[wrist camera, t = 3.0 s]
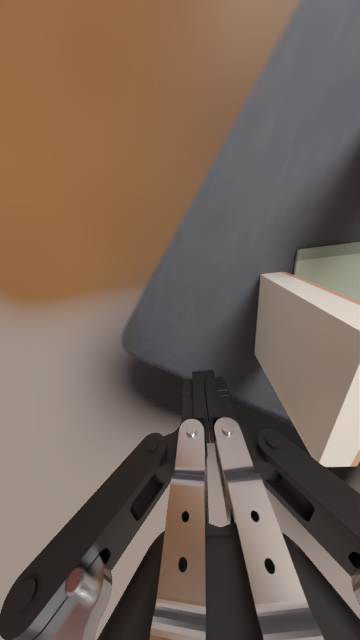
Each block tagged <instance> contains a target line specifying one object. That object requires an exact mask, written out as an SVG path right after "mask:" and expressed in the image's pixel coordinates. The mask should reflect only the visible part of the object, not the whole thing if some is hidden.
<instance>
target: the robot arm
mask: <svg viewBox="0 0 360 640" xmlns="http://www.w3.org/2000/svg"><path fill="white" fill-rule="evenodd" d="M192 376H193V379H190V380H185V382H184V384H183V391H182V392H183V394H182V422H181V424H180V427H179V428H178V429H177V430H176V431H175V432H173V433H171V434H168V435H166V436H164V437H163V436H162V435H161V434H159V433H152V434H150V435H148V436H146V437H145V438H144V439H143V440H142V441H141V443H140V444H139V445H138V446H137V447H136V448H135V449H134V450H133V451H132V453H131V454H130V455H129V456H128V457H127V458H126V459H125V460H124V461H123V462H122V464H121V465H120V466H119V467H118V468H117V469H116V470H115V471H114V472H113V474H111V476H110V477H109V478H108V479H107V480H106V481H105V482H104V483H103V484H102V485H101V487H100V488H99V489H98V490H97V491H96V492H95V493H94V494H93V495H92V496H91V498H90V499H89V500H88V501H87V502H86V503H85V504H84V505H83V507H81V509H80V510H79V511H78V512H77V513H76V514H75V515H74V516H73V518H72V519H71V520H70V521H69V522H68V523H67V524H66V525H65V526H64V527H63V529H62V530H61V531H60V532H59V533H58V534H57V535H56V536H55V537H54V538H53V539H52V541H51V542H50V543H49V544H48V545H47V546H46V547H45V548H44V549H43V550H42V552H41V553H40V554H39V555H38V556H37V557H36V558H35V559H34V561H32V563H31V564H30V565H29V566H28V567H27V568H26V569H25V570H24V571H23V572H22V574H21V575H20V576H19V577H18V579H17V580H16V581H15V583H14V584H13V586H12V588H11V589H10V591H9V593H8V595H7V597H6V599H5V601H4V604H3V607H2V610H1V613H0V635H1V637H2V638H3V639H5V640H94V639H95V634H96V631H97V627H98V625H99V622H100V619H101V617H102V615H103V613H104V611H105V609H106V607H107V605H108V602H109V599H110V595H111V591H112V574H111V570H112V569H113V567H114V566H115V564H116V563H117V561H118V560H119V558H120V557H121V555H122V554H123V552H124V551H125V549H126V548H127V546H128V545H129V543H130V542H131V540H132V539H133V537H134V536H135V534H136V533H137V531H138V530H139V528H140V527H141V525H142V524H143V522H144V521H145V519H146V518H147V516H148V515H149V513H150V512H151V510H152V509H153V507H154V506H155V504H156V503H157V501H158V500H159V498H160V497H161V495H162V494H163V492H164V491H165V489H166V488H167V486H168V485H169V483H170V482H171V484H170V493H169V501H168V509H167V517H166V526H165V531H164V532H162V533H161V534H160V535H159V536H158V537H157V538H156V539H155V540H154V542H153V543H152V545H151V546H150V547H149V549H148V551H147V553H146V555H145V556H144V558H143V560H142V561H141V563H140V565H139V567H138V568H137V570H136V572H135V574H134V576H133V577H132V579H131V581H130V583H129V585H128V586H127V588H126V590H125V591H124V593H123V595H122V597H121V599H120V601H119V602H118V604H117V606H116V607H115V609H114V611H113V613H112V615H111V616H110V618H109V620H108V622H107V623H106V625H105V627H104V629H103V630H102V632H101V634H100V636H99V638H98V639H97V640H360V619H359V618H358V617H357V615H356V614H355V613H354V612H353V610H352V609H351V608H350V607H349V606H348V604H347V603H346V602H345V601H344V600H343V599H342V597H341V596H340V595H339V594H338V593H337V591H336V590H335V589H334V588H333V587H332V585H331V584H330V583H329V582H328V581H327V579H326V578H325V577H324V576H323V575H322V573H321V572H320V571H319V570H318V569H317V567H316V566H315V565H314V564H313V563H312V561H311V560H310V559H309V558H308V557H307V555H306V554H305V553H304V552H303V551H302V550H301V548H300V547H299V546H298V545H297V544H296V543H294V541H292V540H291V539H290V538H289V537H288V536H286V535H285V534H283V533H282V532H281V530H280V527H279V524H278V522H277V519H276V516H275V513H274V511H273V508H272V505H271V503H270V500H269V497H268V494H267V492H266V489H265V487H266V488H267V489H268V490H269V491H270V492H271V493H272V494H273V495H274V496H275V497H276V498H277V499H278V500H279V501H280V502H281V504H282V505H284V507H285V508H286V509H287V510H288V511H289V512H290V513H291V514H292V515H293V516H294V517H295V518H296V519H297V520H298V521H299V522H300V523H301V525H302V526H303V527H304V528H305V529H306V530H307V531H308V532H309V533H310V534H311V535H312V536H313V537H314V538H315V539H316V540H317V541H318V542H319V543H320V545H321V546H322V547H324V549H325V550H326V551H327V552H328V553H329V554H330V555H331V556H332V557H333V558H334V559H335V560H336V561H337V562H338V563H339V564H340V566H342V568H343V569H344V570H345V571H346V572H347V573H348V574H349V575H350V576H351V577H352V587H353V591H354V594H355V596H356V599H357V601H358V603H359V605H360V494H359V493H358V492H356V491H355V490H354V489H353V488H351V487H350V486H349V485H347V484H346V483H345V482H343V481H342V480H341V479H340V478H338V477H337V476H336V475H334V474H333V473H332V472H330V471H329V470H328V469H326V468H325V467H324V466H323V465H321V464H320V463H319V462H317V461H316V460H315V459H313V458H312V457H311V456H309V455H308V454H307V453H305V452H304V451H303V450H302V449H300V448H299V447H298V446H296V445H295V444H294V443H292V442H291V441H290V440H288V439H287V438H286V437H284V436H283V435H282V434H280V433H279V432H278V431H276V430H273V429H263V430H261V431H260V432H256V431H252V430H248V429H246V428H244V427H243V426H241V425H240V424H239V423H238V421H237V420H236V418H235V414H234V411H233V407H232V403H231V399H230V396H229V392H228V388H227V384H226V382H225V381H224V380H223V378H222V377H218V378H215V377H214V372H213V370H209V371H203V373H202V371H196V372H192ZM203 376H204V382H203ZM204 388H205V390H204ZM205 397H206V399H205ZM206 406H207V408H206ZM207 414H208V416H207ZM208 423H209V428H208ZM209 430H210V440H211V443H214V444H215V451H216V461H217V465H218V471H219V475H220V481H221V486H222V491H223V496H224V500H225V507H226V514H227V520H228V525H226V526H224V527H217V526H214V525H211V524H209V511H208V485H207V484H208V483H207V455H208V454H207V443H210V440H209Z"/></svg>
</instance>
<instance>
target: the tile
mask: <svg viewBox="0 0 360 640" xmlns="http://www.w3.org/2000/svg"><path fill="white" fill-rule="evenodd" d="M254 354H255V356H256V358H257V360H258V361H259V363H260V365H261V367H262V369H263V370H264V372H265V374H266V376H267V378H268V379H269V381H270V383H271V385H272V387H273V388H274V390H275V392H276V394H277V396H278V397H279V399H280V401H281V403H282V405H283V406H284V408H285V410H286V412H287V414H288V415H289V417H290V419H291V421H292V423H293V424H294V426H295V428H296V430H297V432H298V433H299V435H300V437H301V439H302V441H303V442H304V444H305V446H306V448H307V449H308V451H309V453H310V455H311V457H312V458H313V459H315V460H316V461H317V462H319V463H320V464H321V465H323V466H324V467H341V466H342V467H345V466H346V467H347V466H357V465H358V463H359V462H360V301H358V300H355V299H353V298H350V297H348V296H345V295H343V294H340V293H338V292H335V291H333V290H330V289H328V288H325V287H323V286H320V285H318V284H315V283H313V282H310V281H308V280H305V279H303V278H300V277H298V276H295V275H293V274H290V273H288V272H277V273H268V274H261V275H260V288H259V301H258V314H257V327H256V340H255V353H254Z"/></svg>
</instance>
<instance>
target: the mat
mask: <svg viewBox="0 0 360 640" xmlns="http://www.w3.org/2000/svg"><path fill="white" fill-rule="evenodd" d="M293 275H295V276H298V277H300V278H303V279H305V280H308V281H310V282H313V283H315V284H318V285H320V286H323V287H325V288H328V289H330V290H333V291H335V292H338V293H340V294H343V295H345V296H348V297H350V298H353V299H355V300H358V301H360V242H353V243H345V244H337V245H329V246H320V247H312V248H304V249H297V254H296V260H295V267H294V273H293Z"/></svg>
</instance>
